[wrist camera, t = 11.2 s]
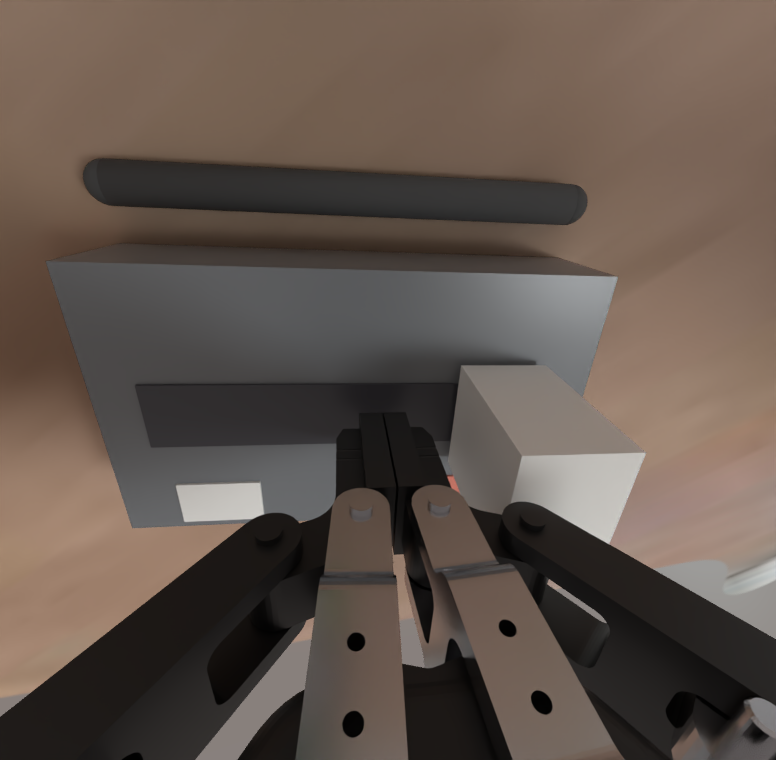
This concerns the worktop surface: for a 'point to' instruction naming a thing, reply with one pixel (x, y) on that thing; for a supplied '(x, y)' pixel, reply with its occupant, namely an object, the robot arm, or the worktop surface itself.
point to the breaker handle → (539, 447)
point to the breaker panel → (297, 359)
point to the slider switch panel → (330, 192)
